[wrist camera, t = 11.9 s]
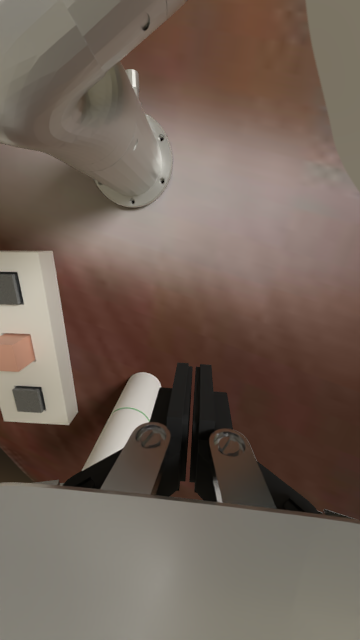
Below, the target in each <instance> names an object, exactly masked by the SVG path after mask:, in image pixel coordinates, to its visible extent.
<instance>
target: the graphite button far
mask: <svg viewBox="0 0 360 640" xmlns="http://www.w3.org/2000/svg"><path fill="white" fill-rule="evenodd" d="M12 392H13V395H14V399H15V403H16V407H17V411H18V412H33V413H42V412H43V411H44V410H45V409H46V407H45V402H44V397H43V392H42V387H33V386H16V387H15V388H14V389H13V390H12Z"/></svg>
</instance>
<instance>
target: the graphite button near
mask: <svg viewBox="0 0 360 640" xmlns="http://www.w3.org/2000/svg"><path fill="white" fill-rule="evenodd" d="M21 303H24V301H23V297H22V292H21V287H20V282H19V277H18V273H17V272H0V304H13V305H18V304H21Z"/></svg>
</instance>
